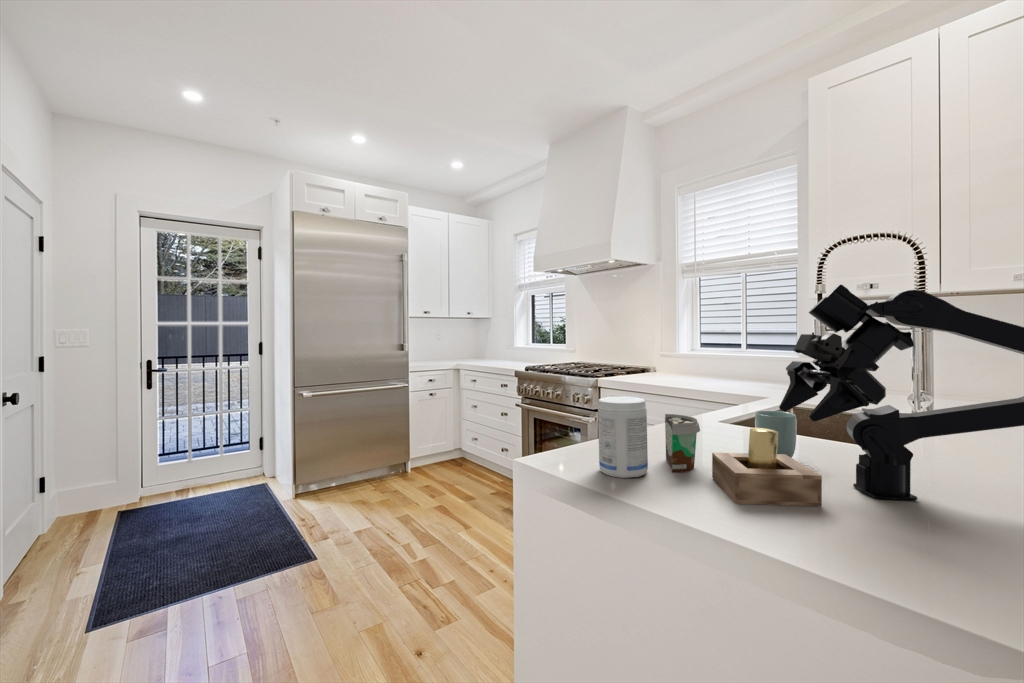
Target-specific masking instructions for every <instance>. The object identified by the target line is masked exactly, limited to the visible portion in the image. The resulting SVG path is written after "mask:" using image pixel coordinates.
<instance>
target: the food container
mask: <svg viewBox="0 0 1024 683" xmlns="http://www.w3.org/2000/svg"><path fill="white" fill-rule="evenodd" d="M664 423H665V424H664V427H665V428H664V432H665V461H666V463H667V465H668V467H669V469H670V471H671V472H670V473H673V474H674V473H675V474H680V473H681V474H683V473H688V472H692V471H694V469H695V464H696V463H695V462H696V461H695V460H696V449H697V448H696V447H697V435H698V434H697V433H700V432H701V428H700V423H699V421H698V419H697V418H695V417H693V416H689V415H682V414H677V413H676V414H674V413H664Z"/></svg>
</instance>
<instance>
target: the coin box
mask: <svg viewBox="0 0 1024 683" xmlns="http://www.w3.org/2000/svg"><path fill="white" fill-rule="evenodd" d="M711 455H712V456H711V460H712V461H711V462H712V464H711V466H712V467H711V472H712V474H711V478H713V479H712V480H713V481H714V482H715V483H716V484H717V485H718V487H720V488H721V489H722V491H723V490H724V491H725V492H726V493H725V492H724V491H723V492H724V493H725V494H726V495H727V497H729V498H730V499H731V500H732V501H733V503H734V504H737V503H739V505H740V504H743V505H744V504H745V505H762V504H772V505H771V506H788V505H796V506H795V507H813V506H822V504H823V501H822V500H823V497H822V496H823V495H822V494H823V493H822V492H823V491H822V489H823V485H822V484H823V482H822V481H823V480H822V479H823V476H822V474H820V473H818V472H816V471H814V470H813V469H811V468H809V466H806V465H804V464H803V463H801V462H800V461H798V460H796V459H794V458H793V457H792V458H791V457H789V456H787V455H786V454H777V461H776V469H747V465H748V453H743V452H712V453H711ZM773 504H774V505H773ZM797 505H798V506H797Z"/></svg>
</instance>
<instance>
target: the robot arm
mask: <svg viewBox="0 0 1024 683" xmlns="http://www.w3.org/2000/svg"><path fill="white" fill-rule="evenodd" d="M808 314H809V315H811V316H812V317H814V318H815V319H816V320H817V321H819V322H820V323H821V324H823V325H824V326H826V327H827V328H828V329H830V330H831V331H833V332H834V333H831V332H828V333H827V332H826V333H825V334H824V335H821V334H820V335H818V334H817V335H816V334H810V333H809V334H807V333H804V334H803V333H801V334H800V335H799V337H798V339H797V342H796V343H795V346H794V347H793V352H795V353H797V354H802V355H803V356H807V357H809V358H811V359H813V360H812V361H811V362H812V363H813V364H814V365H815V366H816V367H818V368H819V369H817V368H816V367H815V366H814V365H813V364H812V363H811V362H809V361H798V360H796V361H795V360H793V361H791V362H790V363H789V364H788V365H787V366H786V367H785V370H786V371H787V376H788V378H789V381H790V382H789V385H788V389H787V390H786V392H785V394H784V396H783V398H782V400H781V402H780V404H779V407H778V408H779V409H780V411H781V412H788V411H789V410H792V409H793V408H796V407H797V406H799V405H801V404H803V403H804V402H805V403H806V402H807V401H809V400H811V399H812V398H815V397H817V396H818V395H819V392H821V391H823V390H824V389H826V387H827V386H828V385H829V390H828V391H827V393H826V394H825V395H824V397H822V399H821V401H820V402H819V403H818V404H817V405H816V406H815V407H814V409H813V410H812V411H811V412H810V414H809V416H808V418H809V419H810V420H811V421H812V422H818V421H820V420H821V421H822V420H823V419H827V418H829V417H832V416H836V415H839V414H842V413H845V412H848V411H851V410H855V409H858V408H861V411H860V412H857V413H855V414H852V415H851V417H850V418H849V419H848V420H847V423H846V431H847V433H848V435H849V437H850V438H851V439H852V441H854V442H855V443H856V444H857V445H858V446H859V447H860V448H861V450H862V451H863V452H864V453H863V454H859V455H858V463H856V464H855V483H852V485H853V486H852V487H854V488H855V489H857V490H859V491H861V492H863V493H864V494H866V495H868V496H870V497H872V498H873V499H878V500H879V499H880V500H900V501H901V500H902V501H904V500H905V501H918V496H916V495H914V494H912V493H911V476H912V474H911V473H912V472H911V470H912V468H911V465H912V464H911V461H912V459H913V457H914V453H913V452H912V451H911V450H910V449H908V447H906V445H909V444H910V443H913V442H916V441H918V440H920V439H925V438H926V439H927V438H932V437H943V436H950V435H957V434H958V435H959V434H965V433H973V432H974V433H975V432H981V431H989V430H990V431H993V430H1000V429H1009V428H1015V427H1016V428H1017V427H1024V395H1023V396H1020V397H1016V398H1009V399H1003V400H1002V399H1001V400H996V401H988V402H982V403H981V402H980V403H974V404H967V405H960V406H959V405H958V406H953V407H945V408H938V409H933V410H932V409H931V410H924V411H918V412H909V413H908V412H907V413H906V412H905V413H903V412H900V409H898V408H896V407H894V406H892V405H890V404H886V405H882V406H879V407H875V408H864V407H869V406H870V404H872V405H876V406H878V404H879V403H881V402H882V401H883V400H884V399H885V398H886V395H887V394H886V392H887V390H886V386H884V385H883V384H882V382H880V381H879V380H878V379H877V378H876V377H875V376H874V375H873V374H872V373H871V372H876V371H877V370H878V369H879V368H880V366H879V365H878V364H877V363H878V361H879V360H881V359H882V358H883V357H884V356H885V355H886V354H887V353H888V351H890V350H891V349H892V347H895V348H896V349H898V350H899V351H906V350H908V349H911V348H912V347H914V346H915V343H914V339H913V338H912V332H911V331H906V332H905V331H901V330H900V329H898V328H896V327H895V326H900V327H901V326H902V327H906V328H907V327H908V328H913V329H914V328H915V329H923V330H931V331H937V332H945V333H949V334H951V335H956V336H959V337H962V338H965V339H969V340H973V341H975V342H979V343H983V344H985V345H989V346H993V347H997V348H1001V349H1003V350H1007V351H1010V352H1014V353H1017V354H1020V355H1024V326H1020V325H1018V324H1014V323H1010V322H1006V321H1002V320H1000V319H995V318H991V317H987V316H983V315H981V314H977V313H974V312H973V313H972V312H969V311H966V310H964V309H962V308H959V307H957V306H955V305H953V304H951V303H950V302H948V301H946V300H944V299H942V298H940V297H938V296H935V295H933V294H930V293H928V292H926V291H923V290H920V289H919V290H918V289H910V290H909V289H908V290H905V291H904V290H903V291H901V292H897V293H895V294H892V295H891V296H889V297H888V298H886V300H885V301H881V302H878V301H871V302H869V303H866V302H865V301H864V300H862V299H861V298H859V297H858V296H857V295H855V294H853V293H852V292H851V291H850V290H849V289H848V287H846V286H844V284H839V285H837V286H836V287H835V288H834V289H833V290H832V291H831V292H830V293H829V294H828V295H826V296H825V297H822V298H821V299H820V300H819V301H818V302H817V303H816V304H815V305H814V306H813V307H812V308H811V309H810V310H809V311H808ZM876 318H883V319H885V320H886V322H883V321H880V320H878V319H876ZM859 323H861V324H860V325H859V326H858V327H857V325H858V324H859ZM892 324H893V325H892ZM894 325H895V326H894ZM855 327H857V328H855ZM854 328H855V330H854V331H853V332H851V334H850V335H849V336H848V337H847V338H846V339H845V340H844V341H843V340H842V338H843V337H842V336H841V335H839V334H836V333H838V332H840V331H842V330H843V332H844V333H849V332H850V331H851V330H853V329H854ZM862 407H863V408H862Z"/></svg>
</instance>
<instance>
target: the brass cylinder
mask: <svg viewBox="0 0 1024 683" xmlns="http://www.w3.org/2000/svg"><path fill="white" fill-rule="evenodd" d="M748 435H749V436H748V437H749V438H748V450H747V452H748V465H747V469H776V461H777V446H778V432H777V431H775V430H771V429H765V428H755V427H750V428H749V434H748Z"/></svg>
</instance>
